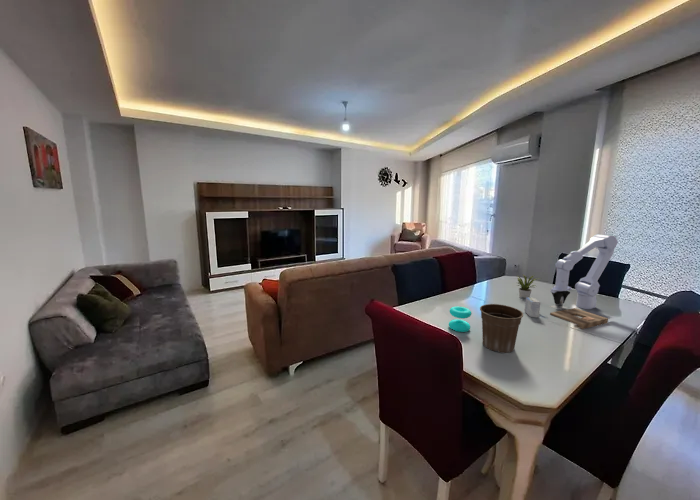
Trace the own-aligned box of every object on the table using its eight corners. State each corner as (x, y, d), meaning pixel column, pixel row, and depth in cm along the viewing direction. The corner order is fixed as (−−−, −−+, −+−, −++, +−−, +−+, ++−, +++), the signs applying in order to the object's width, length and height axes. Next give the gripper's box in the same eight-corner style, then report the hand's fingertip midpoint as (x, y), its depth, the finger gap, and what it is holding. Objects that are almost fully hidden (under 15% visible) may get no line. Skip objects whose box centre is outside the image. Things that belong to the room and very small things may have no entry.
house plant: (539, 297, 187) (542, 273, 184) (539, 304, 175) (542, 278, 173) (514, 294, 194) (516, 270, 192) (513, 299, 183) (515, 274, 180)
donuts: (476, 311, 137) (460, 314, 133) (474, 330, 138) (458, 334, 134) (460, 304, 146) (445, 307, 142) (459, 323, 147) (444, 326, 143)
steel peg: (557, 304, 168) (559, 294, 167) (564, 306, 165) (565, 296, 164) (553, 305, 167) (555, 295, 166) (560, 307, 164) (561, 297, 163)
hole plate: (574, 312, 162) (574, 307, 162) (607, 323, 147) (608, 318, 147) (549, 317, 155) (550, 312, 155) (582, 329, 140) (583, 323, 140)
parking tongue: (557, 306, 170) (558, 304, 170) (568, 310, 165) (568, 307, 165) (548, 308, 168) (548, 306, 167) (559, 312, 162) (559, 309, 162)
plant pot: (500, 359, 113) (504, 320, 110) (468, 341, 128) (471, 306, 125) (528, 351, 119) (532, 314, 117) (495, 335, 134) (498, 301, 131)
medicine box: (539, 317, 154) (540, 302, 153) (529, 317, 155) (531, 301, 154) (532, 312, 162) (534, 297, 161) (524, 311, 163) (525, 297, 161)
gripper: (563, 277, 170) (560, 299, 172) (546, 280, 165) (543, 302, 167) (576, 280, 163) (573, 303, 165) (558, 283, 158) (556, 306, 160)
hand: (559, 303), depth 166 cm, fingers closed on steel peg, 3 cm apart
